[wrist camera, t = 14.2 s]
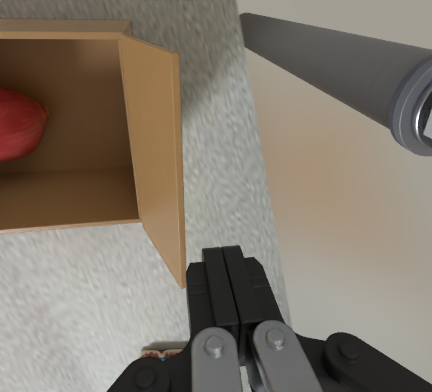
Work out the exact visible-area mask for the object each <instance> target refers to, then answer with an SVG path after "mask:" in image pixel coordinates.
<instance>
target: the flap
mask: <svg viewBox="0 0 432 392" xmlns="http://www.w3.org/2000/svg"><path fill="white" fill-rule="evenodd" d="M120 39H121V47H122V56H123V64H124V73H125V81H126V90H127V98H128V106H129V115H130V123H131V132H132V140H133V149H134V157H135V166H136V174H137V183H138V191H139V200H140V208H141V217H142V225H143V228H144V230H145V232H146V233H147V235H148V237H149V238H150V240H151V241H152V243H153V245H154V246H155V248H156V249H157V251H158V253H159V254H160V256H161V257H162V259H163V261H164V262H165V264H166V265H167V267H168V269H169V270H170V272H171V273H172V275H173V277H174V278H175V280H176V281H177V283H178V285H179V286H180V288H181V289H183V288H186V247H185V216H184V185H183V155H182V124H181V93H180V62H179V53H178V52H176V51H173V50H170V49H167V48H164V47H161V46H158V45H155V44H153V43H150V42H147V41H144V40H141V39H138V38H135V37H133V36H130V35H127V34H121V35H120Z"/></svg>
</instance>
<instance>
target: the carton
mask: <svg viewBox="0 0 432 392" xmlns="http://www.w3.org/2000/svg"><path fill="white" fill-rule="evenodd" d="M121 34H127V35H130V36H133V34H132V24H131V20H88V19H25V18H0V87H4V88H8V89H12V90H15V91H17V92H19V93H21V94H23V95H25V96H27V97H29V98H31V99H33V100H34V101H36V102H38V103H40V104H43V105H44V106H45V107H46V108H47V110H48V112H49V118H48V121H47V123H46V127H45V131H44V134H43V137H42V140H41V142H40V144H39V145H38V147H37V148H36V149H35V151H34V152H32V153H31V154H29V155H28V156H26V157H24V158H21V159H18V160H14V161H7V162H4V161H0V234H4V233H16V232H28V231H41V230H53V229H65V228H77V227H90V226H102V225H114V224H126V223H139V222H142V217H141V208H140V200H139V191H138V183H137V174H136V166H135V157H134V149H133V140H132V132H131V123H130V115H129V106H128V98H127V90H126V81H125V73H124V64H123V56H122V47H121V39H120V35H121Z"/></svg>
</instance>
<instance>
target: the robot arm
mask: <svg viewBox="0 0 432 392" xmlns="http://www.w3.org/2000/svg"><path fill="white" fill-rule="evenodd" d="M411 129H412V133H413V135H414V137H415V139H416V140H417V141H418V142H419V143H421V144H423V145H424V146H426V147H428V148H430V149H432V81H431V82H430V83H429V84H428V85H427V86H426V88H425V89H424V90H423V92H422V93H421V95H420V96H419V98H418V100H417V102H416V104H415V106H414V109H413V112H412V117H411ZM186 291H187V306H188V317H189V328H190V340H189V342H188V344H187V345H186V347H185V348H184V349H183V350H182V351H181V352H179V353H178V354H176V355H174V356H172V357H170V358H168V359H166V360H164V361H163V360H161V359H159V358H157V357H153V356H146V357H142V358H139V359H137V360H135V361H133V362H132V363H131V364H130V365H129V366H128V367H127V368H126V369H125V370H124V371H123V373H122V374H121V375H120V376H119V377H118V379H117V380H116V381H115V382H114V383H113V385H112V386H111V387H110V388H109V389H108V391H107V392H243V388H242V381H241V373H240V367H241V366H246V370H247V374H248V384H247V385H248V392H432V384H430V383H429V382H427V381H425V380H424V379H422V378H421V377H419V376H418V375H416V374H414V373H413V372H411V371H410V370H408V369H406V368H405V367H403V366H402V365H400V364H399V363H397V362H395V361H394V360H392V359H391V358H389V357H387V356H386V355H384V354H383V353H381V352H380V351H378V350H376V349H375V348H373V347H372V346H370V345H369V344H367V343H365V342H364V341H362V340H361V339H359V338H357V337H356V336H353V335H351V334H348V333H343V332H341V333H340V332H338V333H334V334H332V335H330V336H329V337H328V338H327V340H326V341H323V340H318V339H312V338H307V337H303V336H301V335H299V334H297V333H295V332H294V331H293V330H292V329H291V328H290V327H289V326H288V325H286V324H285V322H284V320H283V318H282V315H281V313H280V310H279V308H278V305H277V302H276V300H275V297H274V295H273V292H272V289H271V287H270V284H269V282H268V279H267V278H266V274H265V271H264V269H263V266H262V265H261V264H260V263H259V262H258V261H257V260H256V259H255V258H254V257H249V258H244V256H243V253H242V250H241V247H240V246H239V245H237V246H225V247H221V248H220V247H215V248H203V249H202V262H196V263H190V265H189V267H188V269H187V271H186Z"/></svg>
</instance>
